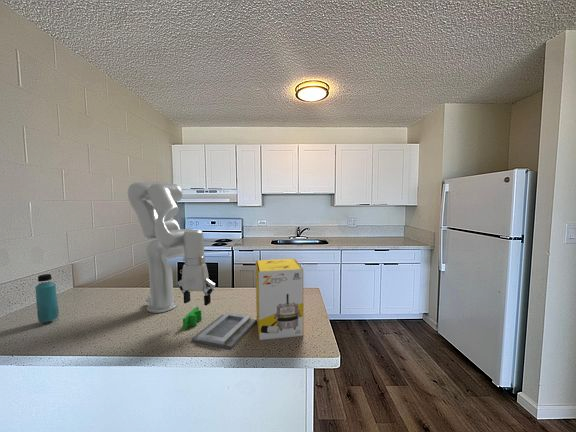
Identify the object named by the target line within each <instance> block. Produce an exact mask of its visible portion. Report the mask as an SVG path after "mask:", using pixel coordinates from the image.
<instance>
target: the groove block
mask: <svg viewBox="0 0 576 432" xmlns="http://www.w3.org/2000/svg"><path fill="white" fill-rule="evenodd" d="M255 324H257V319H254V318H253V319H252V316H251V315H245V314H238V313H232V312H226V313H225V314H221V315H220V316H219V317H218V318H216V319H214V320H213V321H212V322H210V323H209V324H208V325H207V326H206V327H204V328H203V329H202V330H200V331H199V332H197V333H196V334H195V335H194V336H193V337H191V339H190V340H191V342H193V343H197V344H198V343H199V344H204V345H208V346H214V347H219V348H223V349H228V350H232V349H233V348H234V347H235V345H236V344H238V342H239V341H240V340H242V338H243V337H244V336H245V335H246V334H247V333H248V332H249V331H250V330H251V329H252V328H253V326H254V325H255Z"/></svg>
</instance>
